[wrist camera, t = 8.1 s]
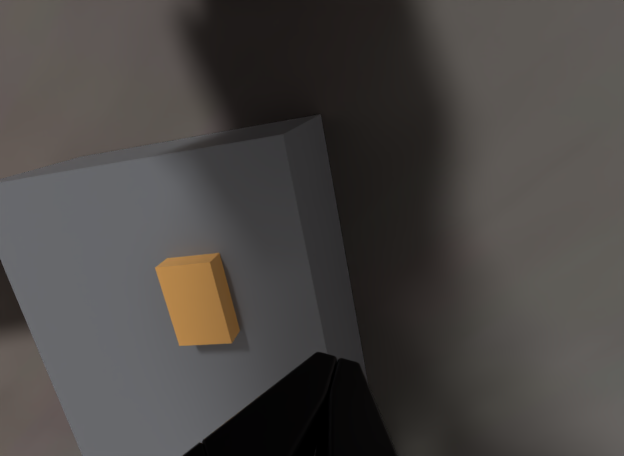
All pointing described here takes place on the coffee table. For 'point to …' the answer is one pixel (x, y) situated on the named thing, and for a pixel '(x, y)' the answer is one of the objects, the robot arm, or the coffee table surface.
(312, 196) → the grey slab
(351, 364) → the robot arm
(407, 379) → the coffee table surface
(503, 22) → the coffee table surface
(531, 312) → the coffee table surface
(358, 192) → the coffee table surface
